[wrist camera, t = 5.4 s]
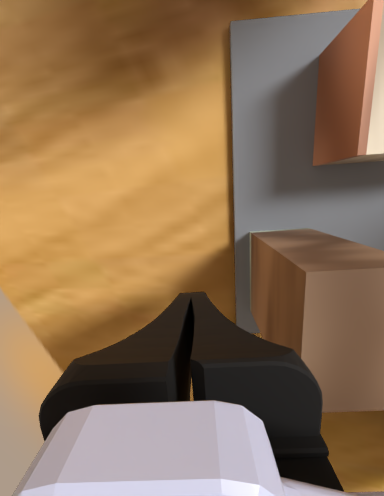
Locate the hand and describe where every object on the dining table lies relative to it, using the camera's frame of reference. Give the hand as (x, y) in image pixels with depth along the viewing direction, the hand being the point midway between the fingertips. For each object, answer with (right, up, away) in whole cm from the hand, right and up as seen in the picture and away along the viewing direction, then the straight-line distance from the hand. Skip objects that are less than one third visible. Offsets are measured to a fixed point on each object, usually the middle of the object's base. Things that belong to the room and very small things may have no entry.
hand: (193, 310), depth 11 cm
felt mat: (+10, +7, +4) cm, 12 cm away
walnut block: (+6, +2, +4) cm, 8 cm away
